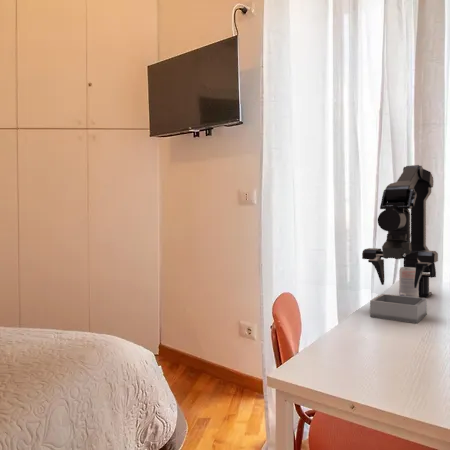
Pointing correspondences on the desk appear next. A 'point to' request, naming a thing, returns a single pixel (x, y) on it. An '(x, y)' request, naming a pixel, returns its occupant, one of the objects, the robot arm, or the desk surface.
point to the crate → (398, 308)
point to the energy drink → (407, 282)
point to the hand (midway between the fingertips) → (398, 286)
